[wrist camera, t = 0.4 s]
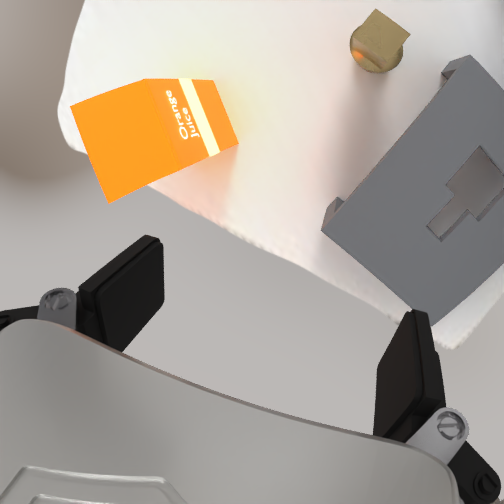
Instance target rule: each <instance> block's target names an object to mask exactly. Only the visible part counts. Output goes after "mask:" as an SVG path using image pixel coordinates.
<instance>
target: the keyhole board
mask: <svg viewBox="0 0 504 504" xmlns="http://www.w3.org/2000/svg"><path fill="white" fill-rule="evenodd" d="M442 74H443V75H444V76H445V77H446V78H447V79H448V80H447V81H446V83H445V84H444V85H443V86H442V88H441V89H440V90H439V91H438V93H437V94H436V95H435V96H434V97H433V99H432V100H431V101H430V102H429V103H428V105H427V106H426V107H425V108H424V110H423V111H422V112H421V113H420V114H419V116H418V117H417V118H416V119H415V120H414V122H413V123H412V124H411V125H410V126H409V128H408V129H407V130H406V131H405V132H404V133H403V135H402V136H401V137H400V138H399V139H398V141H397V142H396V143H395V144H394V145H393V146H392V148H391V149H390V150H389V151H388V152H387V153H386V155H385V156H384V157H383V158H382V159H381V160H380V162H379V163H378V164H377V165H376V166H375V167H374V169H373V170H372V171H371V172H370V173H369V174H368V175H367V177H366V178H365V179H364V180H363V181H362V182H361V183H360V185H359V186H358V187H357V188H356V189H355V190H354V191H353V193H352V194H351V195H350V196H349V197H348V198H347V199H346V200H345V202H343V201H342V200H341V199H340V198H338V197H336V199H335V200H334V201H333V202H332V203H331V204H330V205H329V207H328V208H327V210H326V213H325V217H324V221H323V224H322V228H321V231H322V232H323V233H324V234H326V235H327V236H328V237H329V238H330V239H332V240H333V241H334V242H335V243H337V244H338V245H339V246H340V247H341V248H343V249H344V250H345V251H346V252H347V253H349V254H350V255H351V256H352V257H353V258H354V259H356V260H357V261H358V262H359V263H360V264H362V265H363V266H364V267H365V268H366V269H367V270H369V271H370V272H371V273H372V274H373V275H374V276H376V277H377V278H378V279H379V280H380V281H381V282H383V283H384V284H385V285H386V286H387V287H388V288H389V289H391V290H392V291H393V292H394V293H395V294H396V295H397V296H398V297H400V298H401V299H402V300H403V301H404V302H405V303H406V304H407V305H409V306H410V307H411V308H412V309H416V310H420V311H424V312H427V313H428V317H429V321H430V326H433V325H434V324H436V323H437V322H438V321H439V320H441V319H442V318H443V317H444V316H445V315H447V314H448V313H449V312H450V311H452V310H453V309H454V308H455V307H456V306H457V305H459V304H460V303H461V302H462V301H463V300H464V299H466V298H467V297H468V296H469V295H470V294H471V293H472V292H474V291H475V290H476V289H477V288H478V287H479V286H480V285H481V284H482V283H483V282H484V281H486V280H487V279H488V278H489V277H490V276H491V275H492V274H493V273H494V272H495V271H496V270H497V269H498V268H499V267H500V266H501V265H502V264H503V263H504V188H503V189H502V190H501V191H500V193H499V194H498V195H497V196H496V197H495V198H494V199H493V201H492V202H491V203H490V204H489V205H488V206H487V207H486V208H485V209H484V210H483V212H482V213H481V214H480V215H479V216H478V217H477V218H476V219H475V217H474V216H473V215H472V214H471V213H470V212H469V210H468V209H467V211H466V212H465V213H464V214H463V215H462V216H461V217H460V218H459V219H458V220H457V221H456V222H455V223H454V224H453V225H452V226H451V227H450V228H449V229H448V230H447V231H446V232H445V233H444V234H443V235H442V236H441V237H440V238H438V237H437V236H436V235H435V234H434V233H433V232H432V231H431V230H430V229H429V228H428V227H427V226H426V225H427V224H428V223H429V222H430V221H431V220H432V219H433V218H434V217H435V216H436V215H437V214H438V213H439V212H440V211H441V210H442V209H443V208H444V207H445V205H446V204H447V203H448V202H449V201H450V200H451V199H452V198H453V197H454V196H455V195H454V194H453V192H452V191H451V190H450V189H449V188H448V187H447V186H446V184H447V182H448V181H449V180H450V179H451V178H452V177H453V176H454V175H455V173H456V172H457V171H458V170H459V169H460V168H461V167H462V165H463V164H464V163H465V162H466V161H467V160H468V158H469V157H470V156H471V155H472V154H473V153H474V151H475V150H476V149H477V148H478V147H479V146H480V147H481V149H482V150H483V151H484V152H485V153H486V155H487V156H488V157H489V158H490V159H491V161H492V162H493V163H494V164H495V166H496V167H497V168H498V169H499V171H500V172H501V173H502V175H503V176H504V90H503V89H502V88H501V87H500V86H499V85H498V83H497V82H496V81H495V80H494V79H493V78H492V77H491V76H490V75H489V74H488V72H487V71H486V70H485V69H484V68H483V67H482V66H481V65H480V64H479V63H478V62H477V61H476V60H475V59H474V58H473V57H472V56H471V55H468V56H465V57H462V58H459V59H456V60H453V61H450V63H449V64H448V65H447V66H446V68H445V69H444V70H443V71H442Z"/></svg>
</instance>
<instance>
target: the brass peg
mask: <svg viewBox="0 0 504 504" xmlns="http://www.w3.org/2000/svg"><path fill="white" fill-rule="evenodd" d="M409 36H410V34H409V33H408V32H407V31H406V30H404V29H403V28H402V27H400V26H399V25H398V24H397V23H395V22H394V21H392V20H391V19H390V18H388V17H387V16H386V15H384V14H383V13H381V12H380V11H378V10H377V9H375V10H374V11H373V12H372V13H371V15H370V16H369V17H368V18H367V19H366V21H365V22H364V23H363V24H362V25H361V26H359V27H358V28H357V29H356V30H355V31H354V32H353V34H352V36H351V39H350V51H351V54H352V56H353V58H354V60H355V61H356V62H357V63H358V64H359V65H360V67H362V68H363V69H364V70H366V71H368V72H373V73H384V72H388V71H390V70H392V69H393V68H395V67H396V66H397V65H398V64H399V63H400V61H401V59H402V56H403V46H402V44H403V43H404V42H405V41H406V39H407V38H408V37H409Z"/></svg>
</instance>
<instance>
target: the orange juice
mask: <svg viewBox="0 0 504 504" xmlns="http://www.w3.org/2000/svg"><path fill="white" fill-rule="evenodd" d="M70 107H71V110H72V113H73V116H74V119H75V122H76V124H77V127H78V130H79V132H80V135H81V138H82V140H83V143H84V146H85V148H86V151H87V153H88V156H89V158H90V161H91V163H92V166H93V168H94V171H95V173H96V175H97V178H98V180H99V182H100V185H101V187H102V189H103V192H104V194H105V196H106V199H107V201H108V203H111V202H113V201H115V200H117V199H119V198H121V197H123V196H125V195H127V194H129V193H131V192H133V191H135V190H137V189H139V188H141V187H143V186H145V185H148V184H149V183H152V182H154V181H156V180H159V179H161V178H163V177H165V176H168V175H170V174H172V173H175V172H177V171H179V170H182V169H184V168H186V167H188V166H190V165H192V164H194V163H196V162H198V161H201V160H203V159H205V158H208V157H210V156H213V155H215V154H217V153H219V152H220V151H223V150H225V149H227V148H229V147H232V146H234V145H236V144H239V143H238V141H237V138H236V136H235V133H234V131H233V128H232V126H231V123H230V121H229V118H228V116H227V113H226V111H225V108H224V106H223V103H222V101H221V98H220V96H219V93H218V91H217V88H216V86H215V83H214V81H213V80H193V79H143V80H141V81H138V82H135V83H131V84H128V85H125V86H122V87H119V88H117V89H114V90H111V91H108V92H105V93H103V94H100V95H97V96H95V97H92V98H89V99H87V100H84V101H82V102H79V103H77V104H75V105H72V106H70Z"/></svg>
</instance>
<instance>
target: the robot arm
mask: <svg viewBox="0 0 504 504" xmlns="http://www.w3.org/2000/svg"><path fill="white" fill-rule="evenodd" d="M163 257H164V256H163V244H162V243H160V240H159V238H156V237H152V236H149V235H144V236H143V237H141V238H140V239H139V240H137V241H136V242H135V243H133V244H132V245H131V246H129V247H128V248H127V249H125V250H124V251H123V252H122V253H120V254H119V255H118V256H116V257H115V258H114V259H113V260H111V261H110V262H109V263H107V265H105V266H104V267H103V268H101V269H100V270H99V271H97V272H96V273H95V274H94V275H92V276H91V277H90V278H89V279H88V280H86V281H85V282H84V283H82V284H81V285H80V286H79V287H78V288H79V291H78V292H77V293H76V294H75V293H74V291H72V290H70V289H67V288H56V289H53V290H50V291H48V292H47V293H45V294H44V295H43V296H42V298H41V300H40V305H38V306H32V307H25V308H18V309H12V310H4V311H1V312H0V504H504V500H501V501H500V500H499V498H498V496H499V494H500V490H501V482H500V479H499V476H498V475H497V473H496V472H495V471H494V470H493V469H492V468H491V467H490V466H489V464H487V463H486V461H485V460H484V459H483V458H482V457H481V456H480V455H479V454H478V453H477V452H476V451H475V450H474V449H473V448H472V446H471V445H470V444H469V443H468V442H467V441H466V439H467V437H468V435H469V426H468V423H467V420H466V418H465V417H464V416H463V415H462V414H461V413H460V412H459V411H457V410H456V409H453V408H447V407H446V402H445V393H444V385H443V379H442V372H441V366H440V360H439V355H438V353H437V352H436V351H435V348H434V342H433V337H432V331H431V326H430V321H429V317H428V313H427V312H424V311H420V310H416V309H412V310H411V312H408V311H407V312H406V313H405V315H404V317H403V319H402V321H401V323H400V325H399V327H398V329H397V330H396V332H395V334H394V336H393V338H392V340H391V342H390V344H389V346H388V347H387V349H386V351H385V353H384V355H383V357H382V358H381V360H380V362H379V364H378V368H377V382H376V400H375V415H374V428H373V435H369V434H365V433H360V432H355V431H351V430H347V429H342V428H338V427H334V426H330V425H326V424H322V423H318V422H314V421H310V420H306V419H302V418H299V417H295V416H292V415H288V414H284V413H281V412H278V411H274V410H271V409H268V408H264V407H261V406H258V405H255V404H252V403H249V402H246V401H243V400H240V399H236V398H234V397H231V396H228V395H225V394H222V393H219V392H216V391H214V390H211V389H208V388H206V387H203V386H200V385H198V384H195V383H192V382H190V381H187V380H185V379H182V378H180V377H177V376H175V375H172V374H170V373H167V372H165V371H162V370H160V369H158V368H155V367H153V366H151V365H148V364H146V363H144V362H142V361H139V360H137V359H135V358H133V357H130V356H128V355H126V354H124V353H122V352H123V351H124V350H125V348H126V347H127V346H128V345H129V344H130V342H131V341H132V340H133V339H134V338H135V337H136V335H137V334H138V333H139V332H140V331H141V330H142V328H143V327H144V326H145V325H146V324H147V323H148V321H149V320H150V319H151V318H152V317H153V316H154V315H155V313H156V312H157V311H158V310H159V309H160V308H161V306H162V305H163V303H164V260H163V259H164V258H163Z"/></svg>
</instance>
